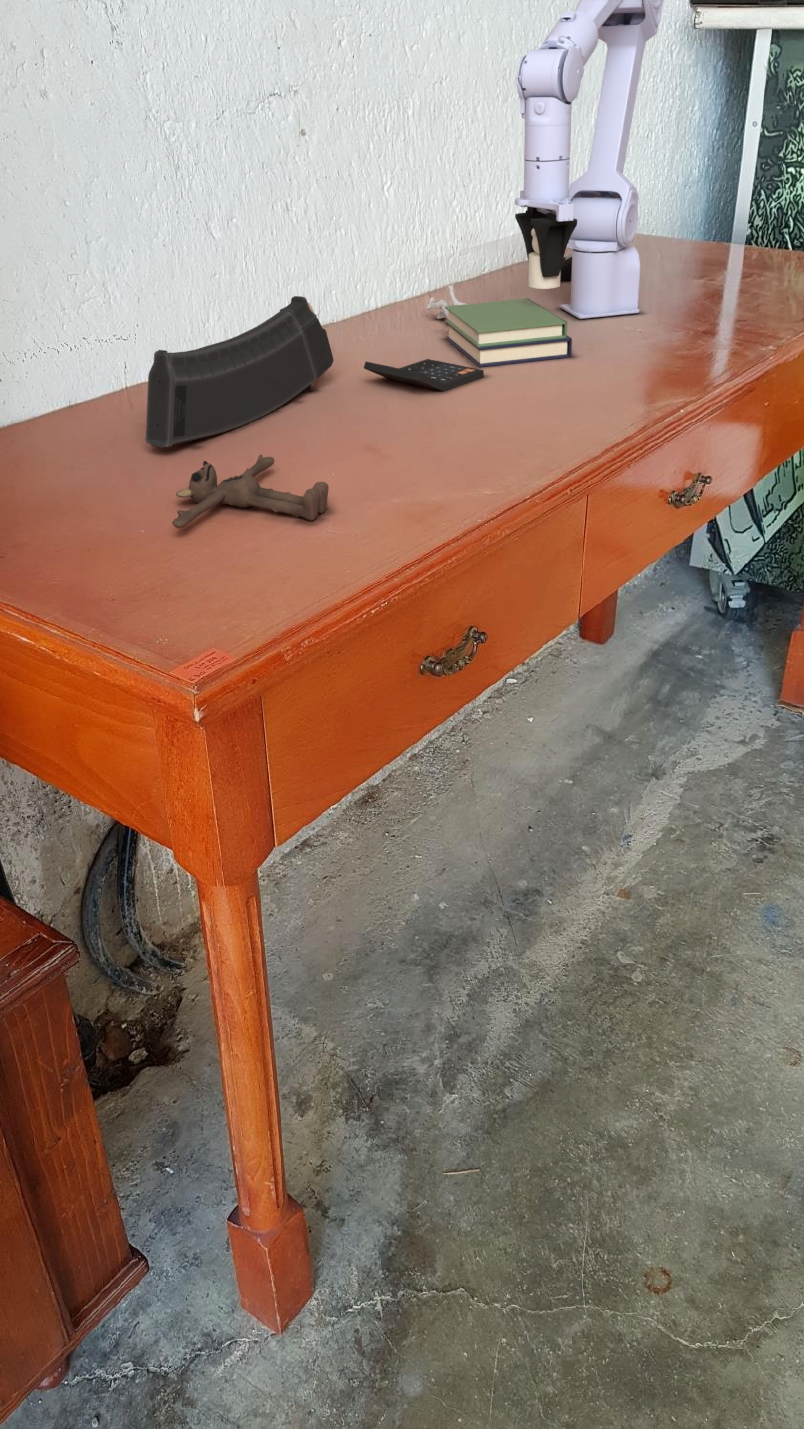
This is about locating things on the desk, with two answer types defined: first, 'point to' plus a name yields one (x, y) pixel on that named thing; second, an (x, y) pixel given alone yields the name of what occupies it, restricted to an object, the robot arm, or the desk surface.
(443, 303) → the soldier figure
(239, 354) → the magazine
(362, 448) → the desk surface
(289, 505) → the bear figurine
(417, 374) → the calculator
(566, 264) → the computer mouse
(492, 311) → the book stack
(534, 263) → the toy bear
